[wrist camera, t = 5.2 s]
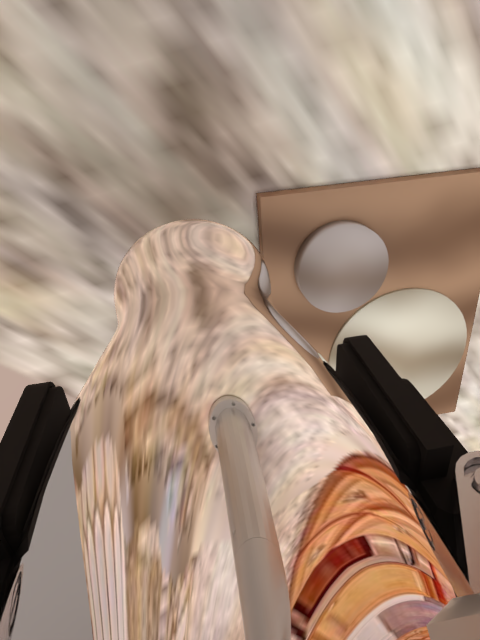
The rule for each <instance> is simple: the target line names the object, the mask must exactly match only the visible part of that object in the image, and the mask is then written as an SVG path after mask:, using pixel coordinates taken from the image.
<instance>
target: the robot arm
mask: <svg viewBox="0 0 480 640" xmlns="http://www.w3.org/2000/svg"><path fill="white" fill-rule="evenodd" d="M336 372H337V374H338V375H339V376H340V377H341V378H342V379H343V381H344V382H345V383H346V384H347V385H348V387H349V388H350V389H351V390H352V391H353V393H354V394H355V395H356V396H357V397H358V399H359V400H360V401H361V402H362V403H363V405H364V406H365V407H366V409H367V410H368V412H369V413H370V415H371V416H372V418H373V419H374V421H375V422H376V424H377V425H378V427H379V428H380V430H381V431H382V433H383V434H384V436H385V437H386V439H387V440H388V442H389V443H390V445H391V446H392V448H393V449H394V451H395V452H396V454H397V455H398V457H399V458H400V460H401V461H402V463H403V464H404V466H405V468H406V470H407V471H408V473H409V475H410V477H411V478H412V480H413V482H414V484H415V485H416V487H417V489H418V491H419V492H420V494H421V496H422V498H423V499H424V501H425V503H426V505H427V506H428V508H429V510H430V512H431V513H432V515H433V517H434V519H435V520H436V522H437V524H438V526H439V527H440V529H441V531H442V533H443V534H444V536H445V538H446V540H447V542H448V543H449V545H450V547H451V549H452V551H453V553H454V555H455V557H456V559H457V561H458V563H459V565H460V567H461V569H462V570H463V572H464V574H465V576H466V578H467V580H468V582H469V584H470V586H471V588H472V590H473V592H474V594H472V595H467V596H461V597H456V598H452V599H451V600H450V601H449V602H448V604H447V605H446V606H445V607H444V608H443V609H442V610H441V611H440V612H439V613H438V614H437V615H436V616H435V617H434V618H433V619H432V620H431V621H430V622H429V623H428V624H426V626H427V629H428V633H429V636H430V639H431V640H480V451H474V452H469V453H468V452H467V451H466V449H465V448H464V447H463V446H462V444H461V443H460V442H459V441H458V439H457V438H456V437H455V436H454V435H453V433H452V432H451V431H450V430H449V428H448V427H447V426H446V425H445V423H444V422H443V421H442V420H441V419H440V417H439V416H438V415H437V414H436V412H435V411H434V410H433V409H432V408H431V406H430V405H429V404H428V403H427V401H426V400H425V399H424V398H423V396H422V395H421V394H420V393H419V392H418V390H417V389H416V388H415V387H414V385H413V384H412V383H411V382H410V381H409V380H408V379H405V378H401V377H400V376H399V375H398V373H397V372H396V371H395V370H394V368H393V367H392V366H391V365H390V363H389V362H388V361H387V360H386V358H385V357H384V356H383V354H382V353H381V352H380V351H379V349H378V348H377V347H376V346H375V344H374V343H373V342H372V341H371V339H370V338H369V337H368V336H367V335H360V336H353V337H347V338H344V340H343V344H338V346H337V354H336ZM69 412H70V407H69V404H68V401H67V398H66V396H65V393H64V390H63V388H62V387H61V386H58V387H55V385H54V384H53V382H46V383H39V384H32V385H28V386H26V388H25V389H24V391H23V394H22V396H21V398H20V400H19V402H18V405H17V407H16V409H15V412H14V414H13V416H12V418H11V420H10V423H9V425H8V427H7V429H6V432H5V434H4V436H3V438H2V440H1V443H0V606H1V602H2V599H3V595H4V591H5V588H6V584H7V581H8V577H9V574H10V570H11V567H12V563H13V559H14V556H15V552H16V549H17V545H18V542H19V538H20V535H21V531H22V528H23V525H24V523H25V520H26V517H27V514H28V511H29V509H30V506H31V503H32V500H33V497H34V495H35V492H36V489H37V486H38V483H39V481H40V478H41V475H42V472H43V469H44V467H45V464H46V461H47V458H48V456H49V454H50V451H51V449H52V447H53V445H54V443H55V441H56V439H57V437H58V435H59V433H60V431H61V429H62V427H63V425H64V423H65V421H66V418H67V416H68V414H69Z"/></svg>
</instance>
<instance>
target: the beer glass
mask: <svg viewBox="0 0 480 640" xmlns="http://www.w3.org/2000/svg"><path fill="white" fill-rule="evenodd" d="M114 302H115V309H116V315H117V320H118V327H117V329H116V331H115V333H114V335H113V337H112V339H111V341H110V342H109V344H108V346H107V347H106V349H105V351H104V352H103V354H102V355H101V357H100V359H99V360H98V362H97V364H96V365H95V367H94V369H93V371H92V372H91V374H90V376H89V378H88V379H87V381H86V383H85V385H84V386H83V388H82V390H81V391H80V393H79V395H78V397H77V398H76V400H75V402H74V404H73V406H72V408H71V410H70V412H69V414H68V416H67V418H66V421H65V423H64V425H63V427H62V429H61V431H60V433H59V435H58V437H57V439H56V441H55V443H54V445H53V447H52V449H51V451H50V454H49V456H48V458H47V461H46V464H45V467H44V469H43V472H42V475H41V478H40V481H39V483H38V486H37V489H36V492H35V495H34V497H33V500H32V503H31V506H30V509H29V511H28V514H27V517H26V520H25V523H24V525H23V528H22V531H21V535H20V538H19V542H18V545H17V549H16V552H15V556H14V559H13V563H12V567H11V570H10V574H9V577H8V581H7V584H6V588H5V591H4V595H3V599H2V602H1V606H0V640H431V639H430V636H429V633H428V629H427V626H426V624H428V623H429V622H430V621H431V620H432V619H433V618H434V617H435V616H436V615H437V614H438V613H439V612H440V611H441V610H442V609H443V608H444V607H445V606H446V605H447V604H448V602H449V601H450V600H451V599H452V598H456V597H461V596H467V595H472V594H474V592H473V590H472V588H471V586H470V584H469V582H468V580H467V578H466V576H465V574H464V572H463V570H462V569H461V567H460V565H459V563H458V561H457V559H456V557H455V555H454V553H453V551H452V549H451V547H450V545H449V543H448V542H447V540H446V538H445V536H444V534H443V533H442V531H441V529H440V527H439V526H438V524H437V522H436V520H435V519H434V517H433V515H432V513H431V512H430V510H429V508H428V506H427V505H426V503H425V501H424V499H423V498H422V496H421V494H420V492H419V491H418V489H417V487H416V485H415V484H414V482H413V480H412V478H411V477H410V475H409V473H408V471H407V470H406V468H405V466H404V464H403V463H402V461H401V460H400V458H399V457H398V455H397V454H396V452H395V451H394V449H393V448H392V446H391V445H390V443H389V442H388V440H387V439H386V437H385V436H384V434H383V433H382V431H381V430H380V428H379V427H378V425H377V424H376V422H375V421H374V419H373V418H372V416H371V415H370V413H369V412H368V410H367V409H366V407H365V406H364V405H363V403H362V402H361V401H360V400H359V399H358V397H357V396H356V395H355V394H354V393H353V391H352V390H351V389H350V388H349V387H348V385H347V384H346V383H345V382H344V381H343V379H342V378H341V377H340V376H339V375H338V374H337V372H336V371H335V370H334V369H333V368H332V366H331V365H330V364H329V363H328V362H327V361H326V360H325V359H324V358H323V357H322V356H321V355H320V354H319V353H318V351H317V350H316V349H315V348H314V347H313V346H312V345H311V344H310V343H309V342H308V341H307V340H306V339H305V338H304V337H303V336H302V335H301V334H300V333H299V332H298V331H297V330H296V329H295V328H294V327H293V326H292V325H291V324H290V323H289V322H288V321H287V320H286V319H285V318H284V317H283V316H282V315H281V314H280V313H279V312H278V310H277V309H276V308H275V307H274V305H273V299H272V287H271V281H270V276H269V272H268V269H267V266H266V264H265V262H264V260H263V258H262V256H261V254H260V253H259V251H258V250H257V249H256V247H255V246H254V245H253V244H252V243H251V242H250V241H249V240H248V239H247V238H246V237H245V236H243V235H242V234H240V233H239V232H237V231H236V230H234V229H232V228H230V227H228V226H226V225H223V224H220V223H217V222H213V221H209V220H201V219H186V220H178V221H173V222H170V223H167V224H164V225H161V226H159V227H157V228H155V229H153V230H151V231H150V232H148V233H146V234H145V235H144V236H142V237H141V238H140V239H139V240H138V241H136V242H135V243H134V244H133V246H132V247H131V248H130V249H129V250H128V252H127V253H126V255H125V256H124V258H123V259H122V261H121V263H120V266H119V268H118V271H117V275H116V279H115V286H114Z"/></svg>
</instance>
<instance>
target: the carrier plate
mask: <svg viewBox="0 0 480 640" xmlns="http://www.w3.org/2000/svg"><path fill="white" fill-rule="evenodd" d="M257 210H258V227H259V244H260V254H261V256H262V258H263V260H264V262H265V264H266V266H267V269H268V272H269V276H270V281H271V287H272V299H273V305H274V307H275V308H276V309H277V310H278V312H279V313H280V314H281V315H282V316H283V317H284V318H285V319H286V320H287V321H288V322H289V323H290V324H291V325H292V326H293V327H294V328H295V329H296V330H297V331H298V332H299V333H300V334H301V335H302V336H303V337H304V338H305V339H306V340H307V341H308V342H309V343H310V344H311V345H312V346H313V347H314V348H315V349H316V350H317V351H318V353H319V354H320V355H321V356H322V357H323V358H324V359H325V360H326V361H327V362H328V363H329V364H330V365H331V366H332V368H333V369H334V370H335V371H336V354H337V346H338V344H343V340H344V338H347V337H353V336H360V335H367V336H368V337H369V338H370V339H371V341H372V342H373V343H374V344H375V346H376V347H377V348H378V349H379V351H380V352H381V353H382V354H383V356H384V357H385V358H386V360H387V361H388V362H389V363H390V365H391V366H392V367H393V368H394V370H395V371H396V372H397V373H398V375H399V376H400V377H401V378H405V379H408V380H409V381H410V382H411V383H412V384H413V385H414V387H415V388H416V389H417V390H418V392H419V393H420V394H421V395H422V396H423V398H424V399H425V400H426V401H427V403H428V404H429V405H430V406H431V408H432V409H433V410H434V411H435V412H436V414H442V413H448V412H454V411H455V409H456V404H457V399H458V394H459V389H460V385H461V380H462V375H463V370H464V365H465V361H466V356H467V351H468V346H469V341H470V336H471V332H472V327H473V322H474V317H475V312H476V307H477V303H478V298H479V293H480V168H473V169H465V170H456V171H447V172H438V173H430V174H421V175H412V176H404V177H395V178H386V179H377V180H369V181H360V182H351V183H343V184H334V185H325V186H316V187H308V188H299V189H290V190H281V191H273V192H264V193H257Z"/></svg>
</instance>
